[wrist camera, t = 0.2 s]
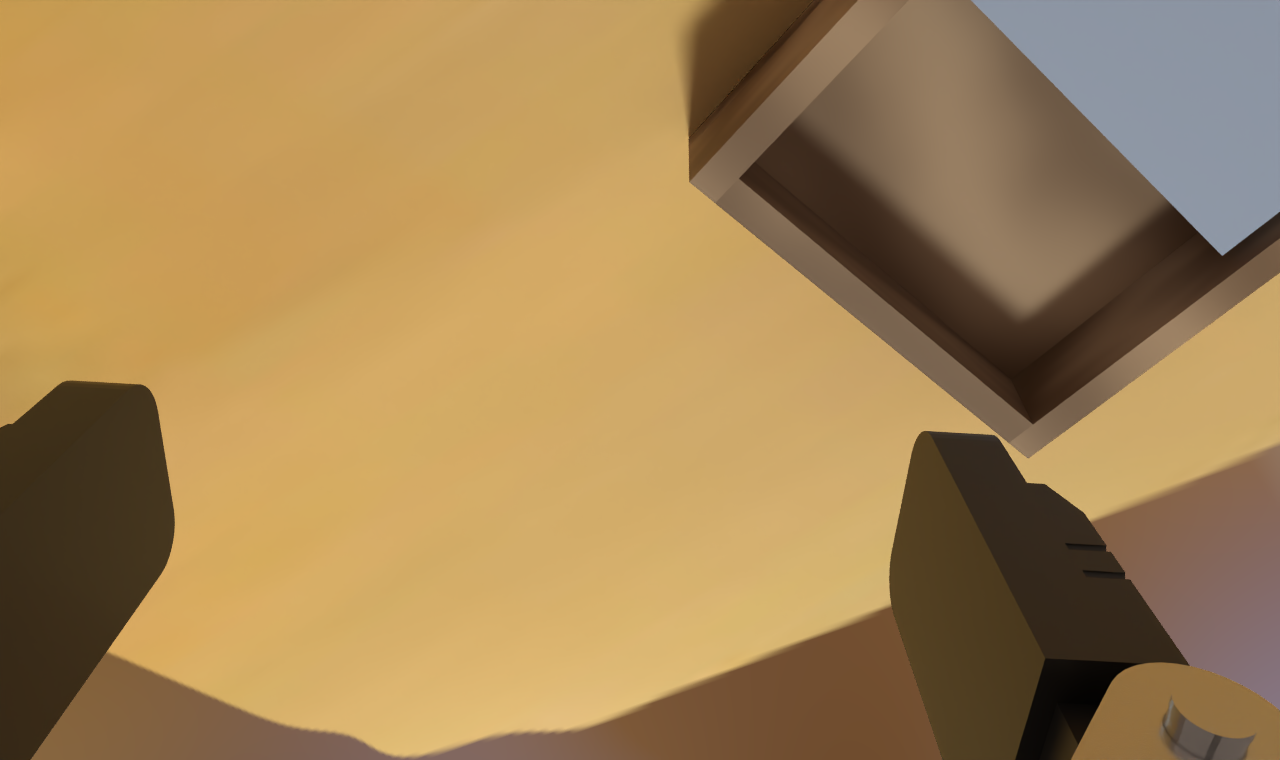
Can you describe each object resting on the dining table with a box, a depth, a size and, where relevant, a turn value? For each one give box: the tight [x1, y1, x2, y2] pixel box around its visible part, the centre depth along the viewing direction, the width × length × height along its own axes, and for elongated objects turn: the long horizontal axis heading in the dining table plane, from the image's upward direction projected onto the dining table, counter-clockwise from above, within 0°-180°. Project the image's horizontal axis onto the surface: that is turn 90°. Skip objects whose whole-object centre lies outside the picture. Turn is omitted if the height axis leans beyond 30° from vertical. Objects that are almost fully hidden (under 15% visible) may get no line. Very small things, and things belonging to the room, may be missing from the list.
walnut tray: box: [689, 0, 1280, 458], centre depth 30 cm, size 18×15×4 cm
